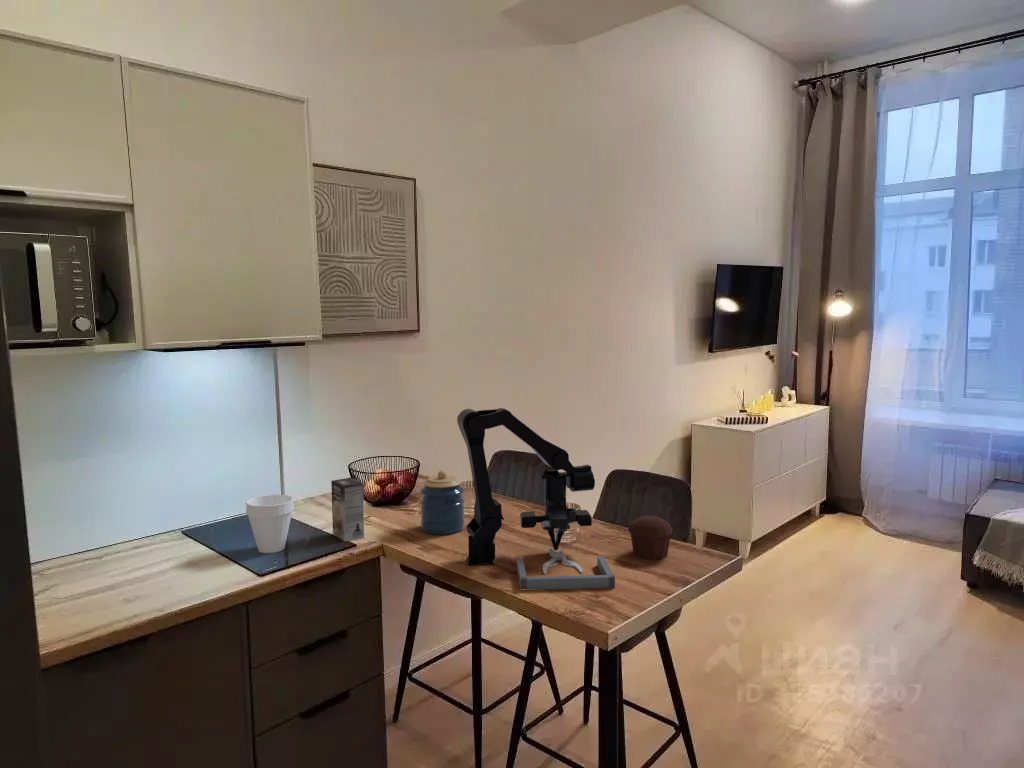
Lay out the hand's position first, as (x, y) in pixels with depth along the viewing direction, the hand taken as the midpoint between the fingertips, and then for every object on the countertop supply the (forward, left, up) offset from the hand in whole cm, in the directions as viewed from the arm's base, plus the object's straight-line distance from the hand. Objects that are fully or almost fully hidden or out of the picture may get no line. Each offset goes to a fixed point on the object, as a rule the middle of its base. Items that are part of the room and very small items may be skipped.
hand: (555, 549), depth 184 cm
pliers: (0, -8, -1) cm, 8 cm away
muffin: (+25, -3, -1) cm, 25 cm away
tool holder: (0, -17, -1) cm, 17 cm away
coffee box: (-58, +18, -1) cm, 61 cm away
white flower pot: (-77, +8, -1) cm, 78 cm away
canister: (-31, +23, -1) cm, 39 cm away
